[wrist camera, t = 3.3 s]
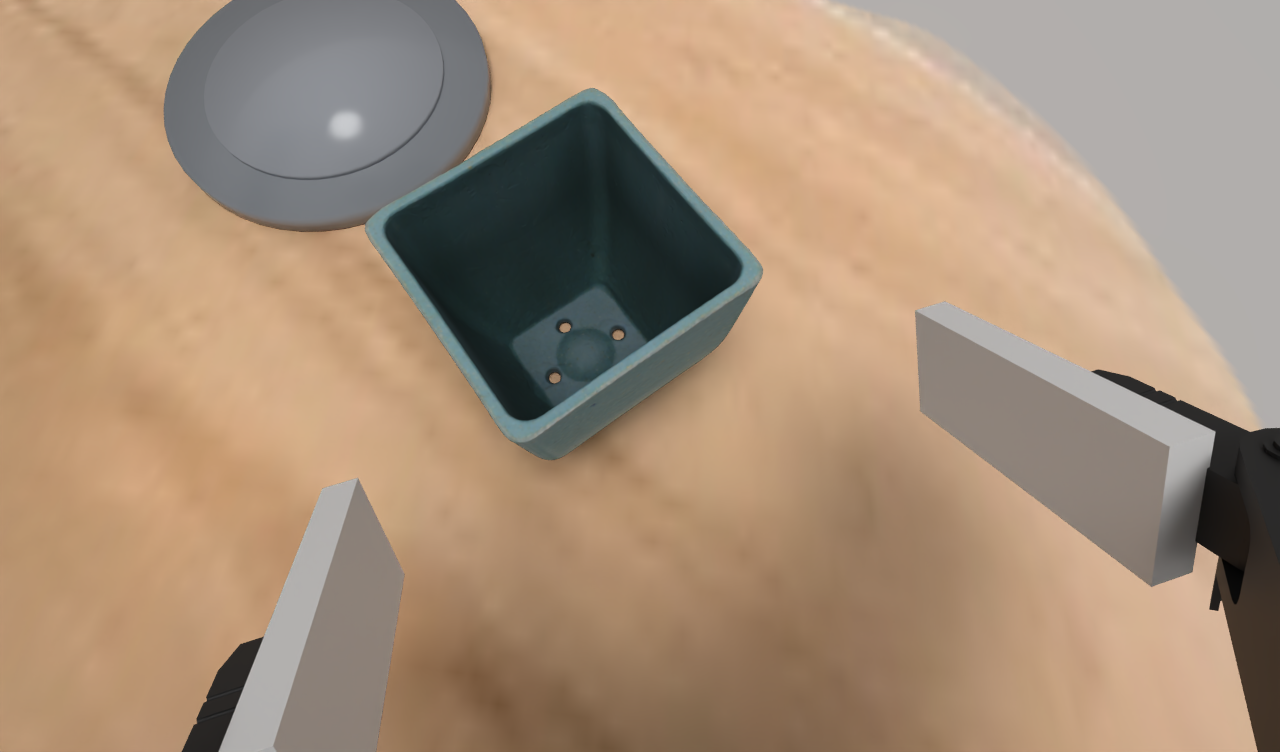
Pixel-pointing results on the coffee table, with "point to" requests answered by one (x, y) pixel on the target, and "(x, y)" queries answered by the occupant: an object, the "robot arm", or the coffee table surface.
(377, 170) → the saucer
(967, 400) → the robot arm
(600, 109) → the flower pot
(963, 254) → the coffee table surface
